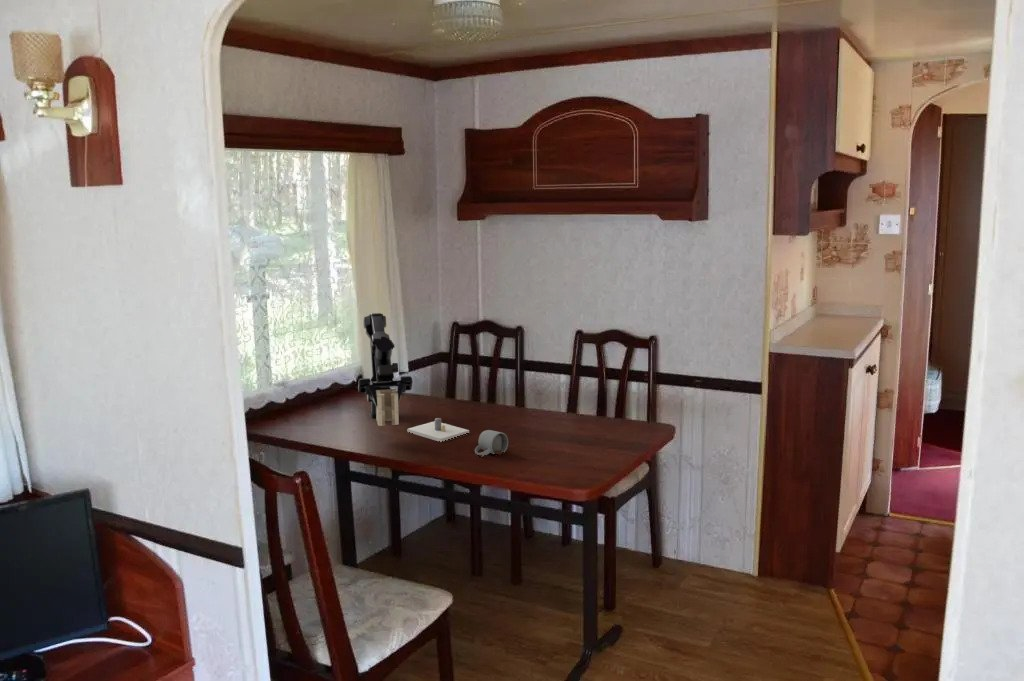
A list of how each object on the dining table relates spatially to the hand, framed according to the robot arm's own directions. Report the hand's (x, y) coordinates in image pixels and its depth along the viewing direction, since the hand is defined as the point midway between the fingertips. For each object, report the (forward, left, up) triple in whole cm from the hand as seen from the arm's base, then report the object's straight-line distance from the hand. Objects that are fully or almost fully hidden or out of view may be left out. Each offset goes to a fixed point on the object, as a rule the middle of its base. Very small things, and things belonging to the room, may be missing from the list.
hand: (387, 405), depth 296 cm
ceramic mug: (+23, +30, -14) cm, 40 cm away
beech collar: (-1, 0, -7) cm, 7 cm away
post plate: (-5, +19, -13) cm, 24 cm away
